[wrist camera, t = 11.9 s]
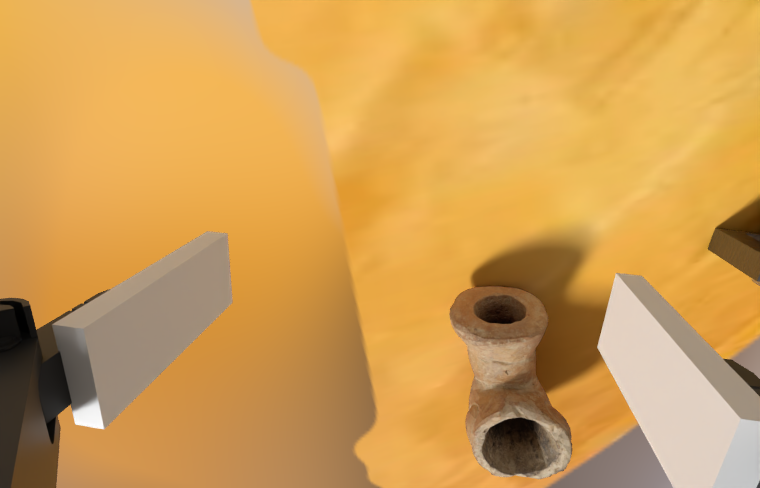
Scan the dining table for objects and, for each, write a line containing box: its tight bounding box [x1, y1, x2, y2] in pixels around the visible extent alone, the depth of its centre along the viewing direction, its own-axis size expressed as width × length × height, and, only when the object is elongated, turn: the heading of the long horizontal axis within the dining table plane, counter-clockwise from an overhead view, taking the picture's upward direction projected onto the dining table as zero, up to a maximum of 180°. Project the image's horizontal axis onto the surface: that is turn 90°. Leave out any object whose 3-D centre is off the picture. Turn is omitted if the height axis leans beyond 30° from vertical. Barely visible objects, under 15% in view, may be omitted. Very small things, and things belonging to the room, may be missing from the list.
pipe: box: [450, 286, 572, 479], centre depth 42 cm, size 9×16×10 cm, turn 13°
